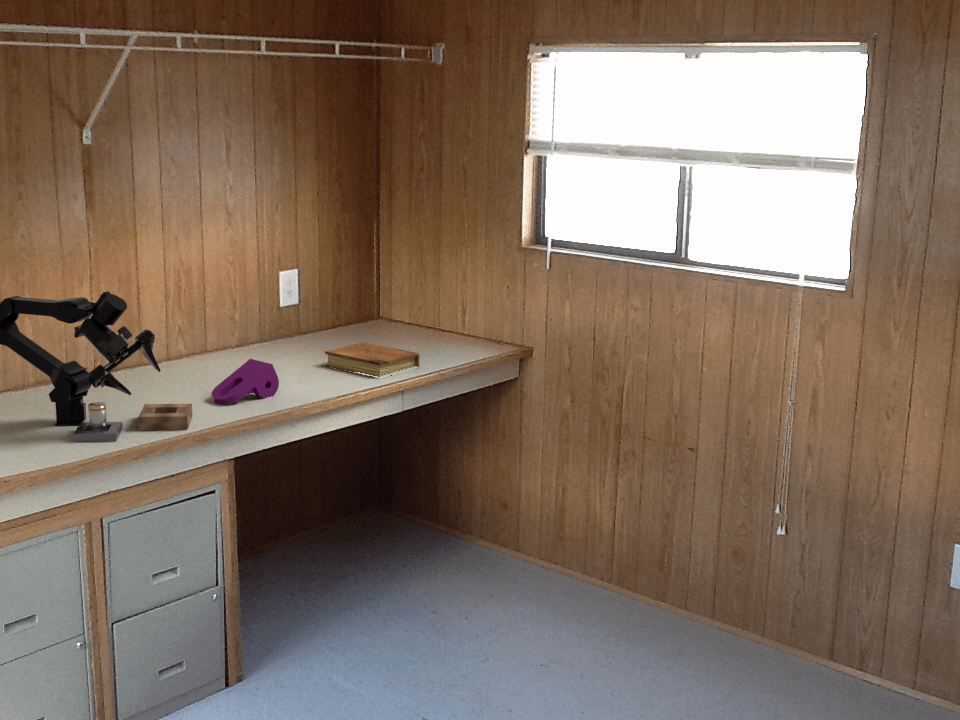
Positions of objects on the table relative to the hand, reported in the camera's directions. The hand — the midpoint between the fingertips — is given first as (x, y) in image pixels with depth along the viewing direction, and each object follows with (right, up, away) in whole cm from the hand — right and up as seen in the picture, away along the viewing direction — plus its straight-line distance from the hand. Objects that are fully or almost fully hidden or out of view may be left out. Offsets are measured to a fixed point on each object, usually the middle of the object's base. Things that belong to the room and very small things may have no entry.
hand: (145, 382), depth 282 cm
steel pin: (-11, -13, -1) cm, 17 cm away
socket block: (+2, -11, +10) cm, 15 cm away
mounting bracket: (+17, -5, +36) cm, 40 cm away
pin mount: (-11, -13, -1) cm, 17 cm away
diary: (+49, +3, +76) cm, 90 cm away
